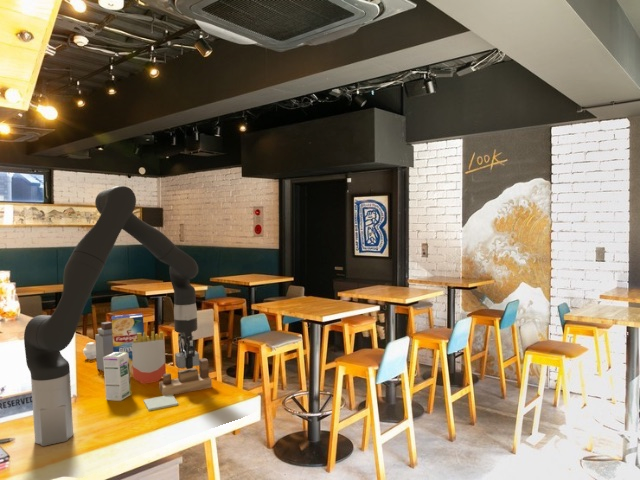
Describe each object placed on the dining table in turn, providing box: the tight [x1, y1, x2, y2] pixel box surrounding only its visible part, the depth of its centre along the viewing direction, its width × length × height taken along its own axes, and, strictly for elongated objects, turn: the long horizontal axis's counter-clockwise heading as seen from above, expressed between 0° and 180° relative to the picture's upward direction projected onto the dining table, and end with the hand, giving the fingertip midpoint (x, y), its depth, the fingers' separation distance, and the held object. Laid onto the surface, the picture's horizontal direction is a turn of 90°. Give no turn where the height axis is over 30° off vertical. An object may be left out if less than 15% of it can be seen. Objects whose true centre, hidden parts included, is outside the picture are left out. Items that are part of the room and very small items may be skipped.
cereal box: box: [110, 312, 145, 378], centre depth 191 cm, size 7×11×22 cm, turn 112°
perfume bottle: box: [94, 321, 113, 372], centre depth 199 cm, size 7×7×18 cm
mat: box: [143, 394, 180, 412], centre depth 161 cm, size 9×9×1 cm
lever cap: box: [174, 350, 200, 369], centre depth 173 cm, size 5×7×4 cm
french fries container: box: [132, 331, 167, 384], centre depth 183 cm, size 5×11×18 cm, turn 113°
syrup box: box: [103, 352, 132, 402], centre depth 166 cm, size 6×6×14 cm
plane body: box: [158, 357, 213, 396], centre depth 173 cm, size 7×16×9 cm, turn 118°
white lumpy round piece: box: [82, 341, 96, 360], centre depth 214 cm, size 6×6×7 cm
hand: (187, 366), depth 173 cm, fingers closed on lever cap, 5 cm apart
